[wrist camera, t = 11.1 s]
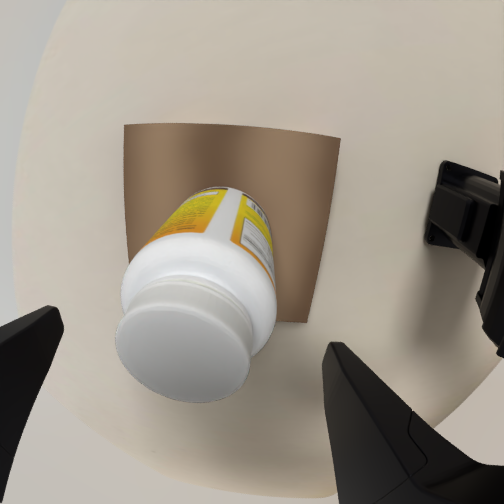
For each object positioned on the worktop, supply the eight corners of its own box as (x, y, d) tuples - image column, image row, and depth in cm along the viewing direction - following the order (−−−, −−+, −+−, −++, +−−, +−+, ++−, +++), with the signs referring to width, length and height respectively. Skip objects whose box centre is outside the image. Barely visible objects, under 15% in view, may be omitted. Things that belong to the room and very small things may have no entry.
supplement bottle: (164, 253, 18) (85, 375, 8) (195, 168, 15) (101, 237, 6) (247, 288, 18) (233, 432, 9) (288, 209, 16) (320, 328, 7)
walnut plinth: (328, 136, 17) (340, 138, 14) (301, 298, 22) (306, 322, 19) (143, 123, 17) (124, 124, 14) (147, 283, 22) (134, 304, 19)
